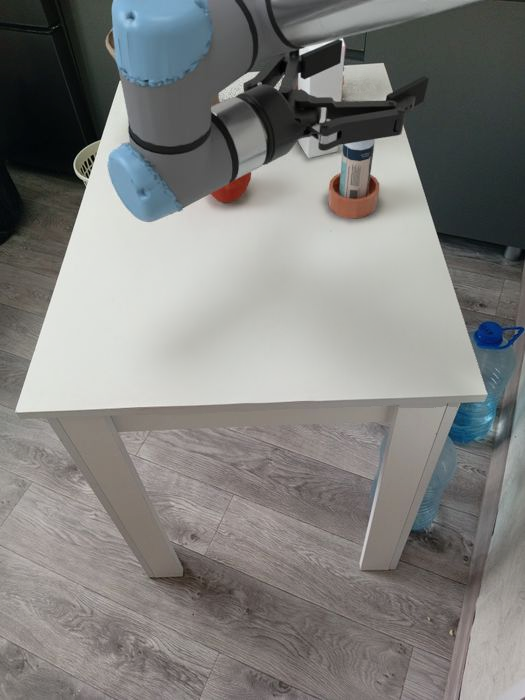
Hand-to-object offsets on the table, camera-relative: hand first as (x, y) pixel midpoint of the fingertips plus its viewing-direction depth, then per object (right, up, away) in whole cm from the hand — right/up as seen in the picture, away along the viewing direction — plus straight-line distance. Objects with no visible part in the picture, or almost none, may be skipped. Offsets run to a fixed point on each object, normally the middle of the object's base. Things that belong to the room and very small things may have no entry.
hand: (379, 69), depth 63 cm
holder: (+1, -9, +25) cm, 26 cm away
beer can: (+1, -9, +24) cm, 26 cm away
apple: (-20, -7, +28) cm, 35 cm away
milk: (-4, +4, +35) cm, 36 cm away
